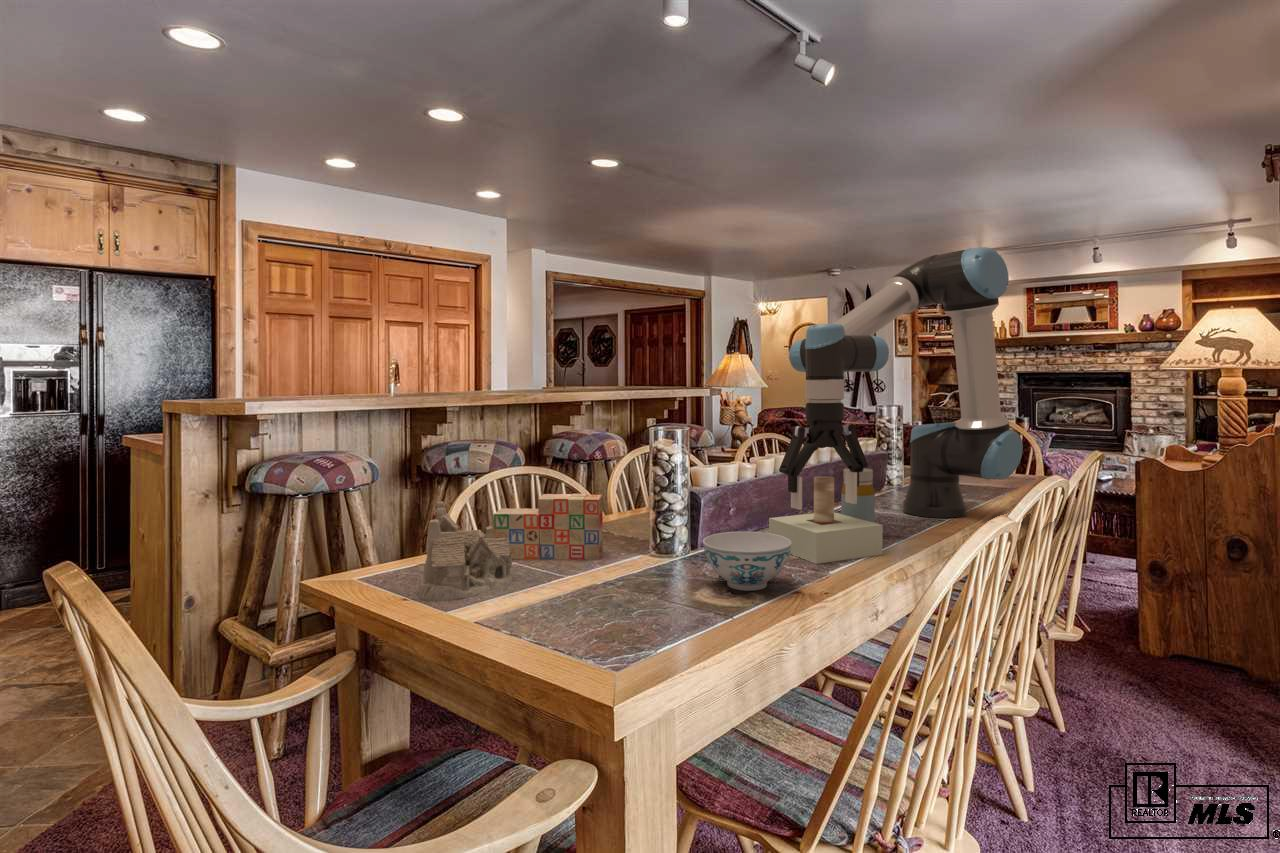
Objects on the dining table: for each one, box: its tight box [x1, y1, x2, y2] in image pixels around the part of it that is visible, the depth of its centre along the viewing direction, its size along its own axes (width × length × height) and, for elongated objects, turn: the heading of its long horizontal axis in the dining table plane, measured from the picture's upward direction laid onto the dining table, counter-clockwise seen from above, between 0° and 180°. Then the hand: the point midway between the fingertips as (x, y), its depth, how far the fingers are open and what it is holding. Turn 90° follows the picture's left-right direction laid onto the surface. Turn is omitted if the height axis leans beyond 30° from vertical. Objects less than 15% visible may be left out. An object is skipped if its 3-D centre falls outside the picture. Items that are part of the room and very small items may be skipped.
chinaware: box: [702, 531, 792, 592], centre depth 123 cm, size 15×15×8 cm
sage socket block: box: [768, 511, 884, 565], centre depth 147 cm, size 16×16×6 cm
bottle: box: [840, 467, 876, 523], centre depth 158 cm, size 7×7×15 cm
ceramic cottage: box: [417, 501, 514, 602], centre depth 125 cm, size 16×16×15 cm
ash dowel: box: [813, 475, 835, 525], centre depth 146 cm, size 4×4×14 cm
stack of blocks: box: [493, 493, 604, 560], centre depth 146 cm, size 21×6×12 cm, turn 86°
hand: (824, 505), depth 146 cm, fingers open, 13 cm apart
